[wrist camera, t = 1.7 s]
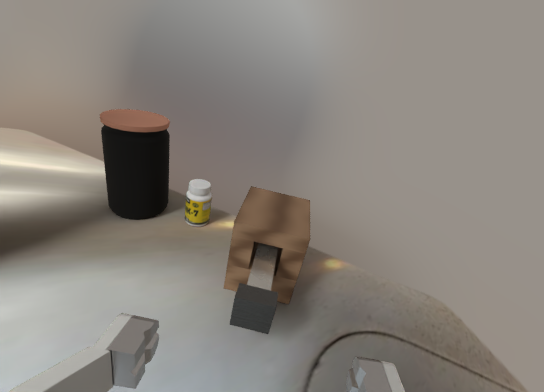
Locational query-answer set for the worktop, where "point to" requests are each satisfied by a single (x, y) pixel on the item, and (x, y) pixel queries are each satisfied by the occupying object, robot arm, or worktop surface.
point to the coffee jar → (136, 162)
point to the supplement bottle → (198, 203)
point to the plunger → (257, 293)
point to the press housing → (270, 238)
